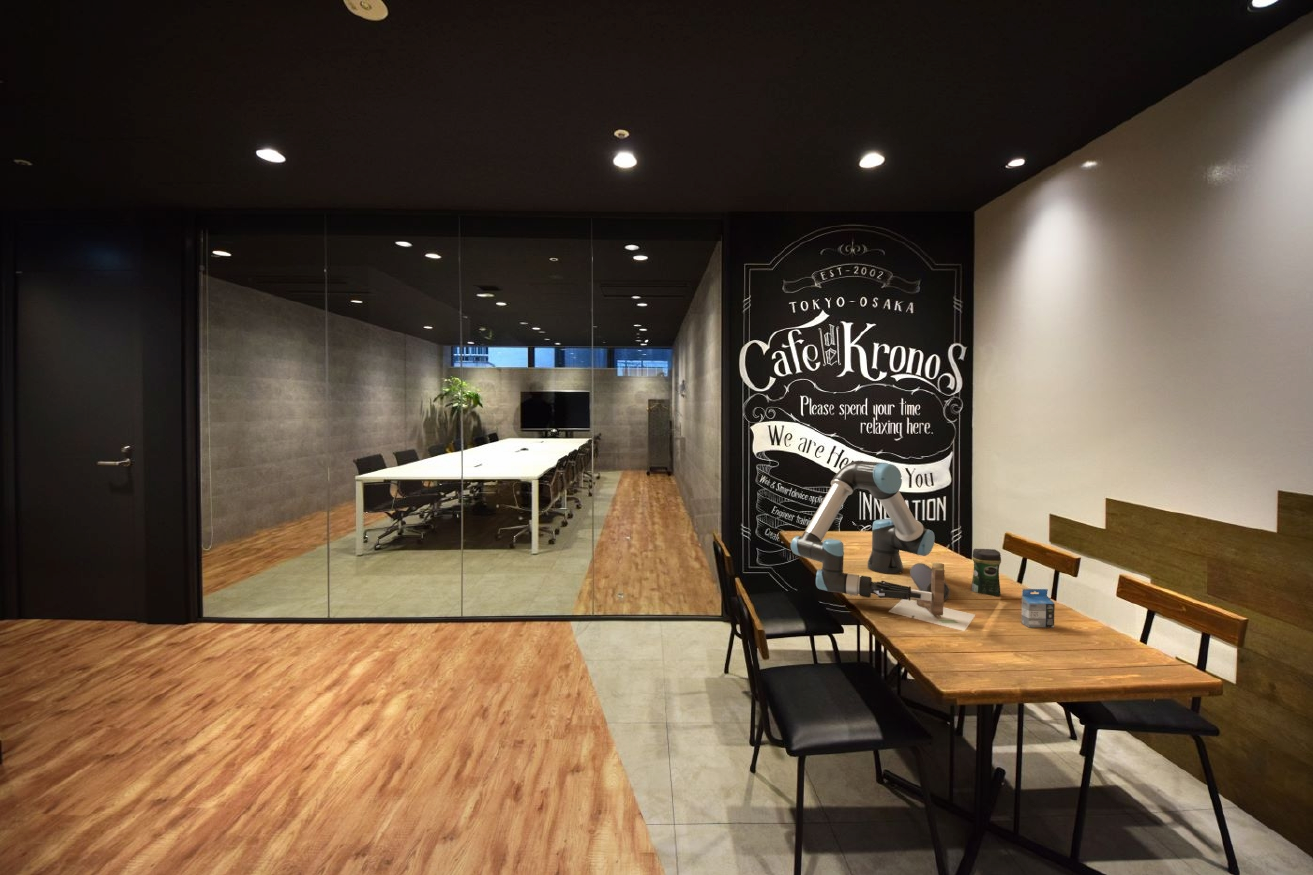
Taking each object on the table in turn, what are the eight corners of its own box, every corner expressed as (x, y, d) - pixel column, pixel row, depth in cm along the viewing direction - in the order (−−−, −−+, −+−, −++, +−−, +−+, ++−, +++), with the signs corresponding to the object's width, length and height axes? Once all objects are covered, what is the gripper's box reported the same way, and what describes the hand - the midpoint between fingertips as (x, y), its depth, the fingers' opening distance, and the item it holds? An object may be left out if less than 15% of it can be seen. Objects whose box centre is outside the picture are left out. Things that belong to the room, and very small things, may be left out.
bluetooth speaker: (951, 606, 194) (952, 580, 194) (924, 604, 196) (925, 578, 196) (931, 585, 217) (932, 562, 216) (908, 584, 218) (908, 561, 218)
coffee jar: (993, 591, 209) (995, 547, 208) (1003, 599, 202) (1005, 552, 200) (967, 590, 211) (969, 546, 210) (976, 597, 203) (978, 551, 202)
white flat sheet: (888, 615, 185) (888, 611, 185) (903, 601, 199) (903, 597, 199) (964, 635, 169) (964, 630, 169) (975, 618, 183) (975, 614, 182)
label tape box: (1028, 628, 175) (1030, 592, 174) (1020, 623, 179) (1021, 588, 179) (1054, 628, 175) (1056, 592, 174) (1045, 623, 179) (1047, 588, 178)
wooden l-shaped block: (914, 602, 194) (916, 552, 193) (928, 602, 193) (930, 553, 192) (932, 620, 177) (934, 566, 176) (947, 620, 177) (949, 567, 176)
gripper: (861, 590, 197) (931, 601, 186) (857, 601, 185) (931, 613, 174) (861, 570, 196) (931, 580, 185) (857, 580, 185) (932, 592, 174)
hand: (931, 596), depth 180 cm, fingers closed
